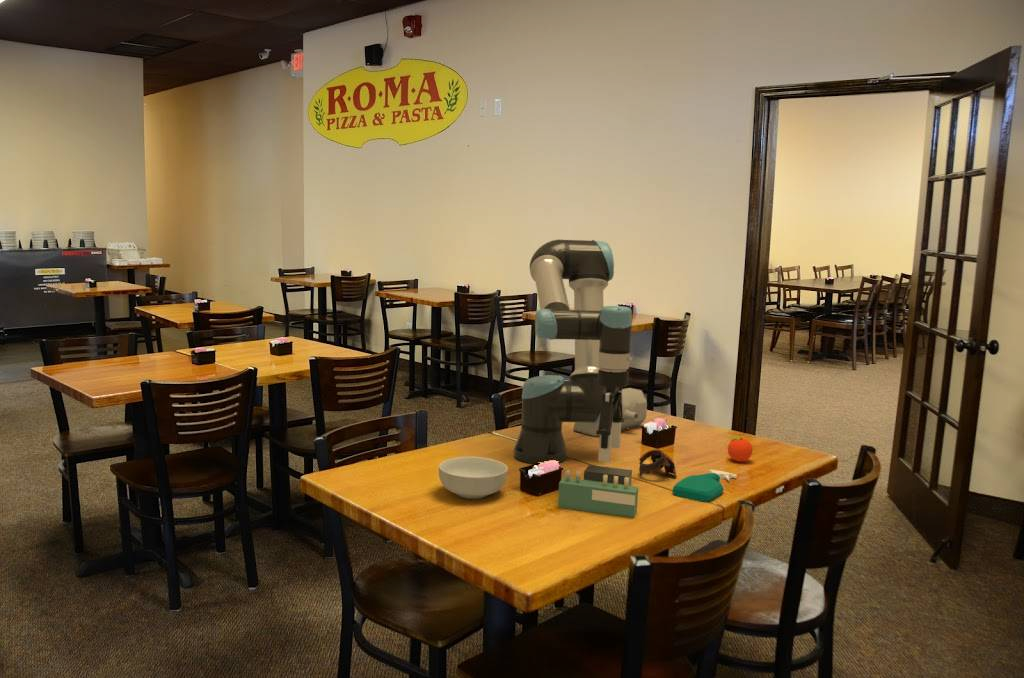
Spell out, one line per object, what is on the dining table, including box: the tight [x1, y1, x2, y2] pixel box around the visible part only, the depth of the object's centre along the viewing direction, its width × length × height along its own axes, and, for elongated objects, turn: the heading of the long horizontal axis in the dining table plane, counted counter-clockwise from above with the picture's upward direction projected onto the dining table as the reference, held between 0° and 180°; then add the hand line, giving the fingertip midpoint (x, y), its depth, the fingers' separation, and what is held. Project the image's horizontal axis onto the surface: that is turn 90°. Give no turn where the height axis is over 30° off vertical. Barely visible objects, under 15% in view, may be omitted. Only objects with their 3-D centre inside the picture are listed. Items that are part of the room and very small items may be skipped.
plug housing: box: [583, 464, 633, 486], centre depth 200 cm, size 11×6×6 cm, turn 72°
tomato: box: [724, 437, 753, 463], centre depth 233 cm, size 8×7×7 cm
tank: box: [572, 387, 648, 437], centre depth 263 cm, size 25×16×12 cm, turn 135°
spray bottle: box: [672, 469, 738, 503], centre depth 209 cm, size 3×11×24 cm
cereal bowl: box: [438, 456, 509, 500], centre depth 197 cm, size 17×17×7 cm
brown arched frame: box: [638, 448, 678, 480], centre depth 217 cm, size 12×10×8 cm
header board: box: [557, 469, 639, 519], centre depth 189 cm, size 18×5×8 cm, turn 73°
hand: (609, 454), depth 199 cm, fingers open, 13 cm apart
